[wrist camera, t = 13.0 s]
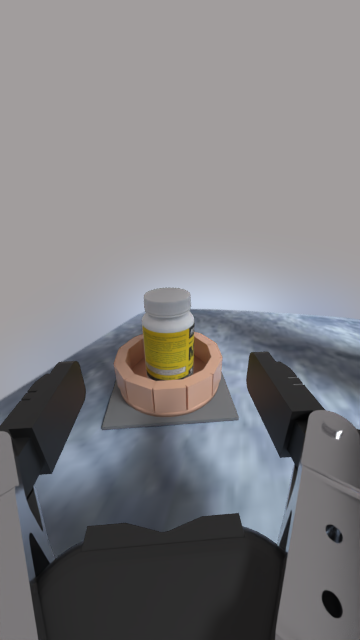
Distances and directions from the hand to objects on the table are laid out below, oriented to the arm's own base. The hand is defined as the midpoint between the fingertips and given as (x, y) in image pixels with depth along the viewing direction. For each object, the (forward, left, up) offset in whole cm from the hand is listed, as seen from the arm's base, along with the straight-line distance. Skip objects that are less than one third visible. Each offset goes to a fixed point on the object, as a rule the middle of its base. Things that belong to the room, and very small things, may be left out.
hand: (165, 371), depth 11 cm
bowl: (0, -10, -8) cm, 13 cm away
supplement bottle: (0, -10, -8) cm, 12 cm away
